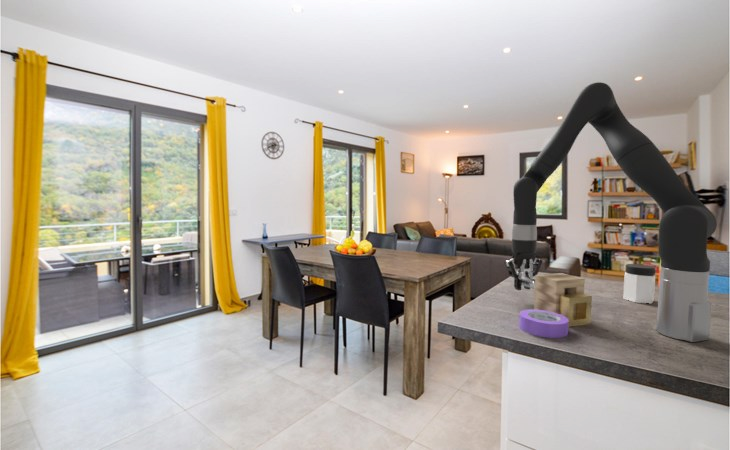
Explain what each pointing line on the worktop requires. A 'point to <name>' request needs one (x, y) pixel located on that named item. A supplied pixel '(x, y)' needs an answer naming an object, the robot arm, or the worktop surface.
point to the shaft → (533, 283)
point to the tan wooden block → (555, 290)
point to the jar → (639, 283)
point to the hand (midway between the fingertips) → (522, 289)
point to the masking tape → (544, 323)
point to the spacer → (582, 308)
